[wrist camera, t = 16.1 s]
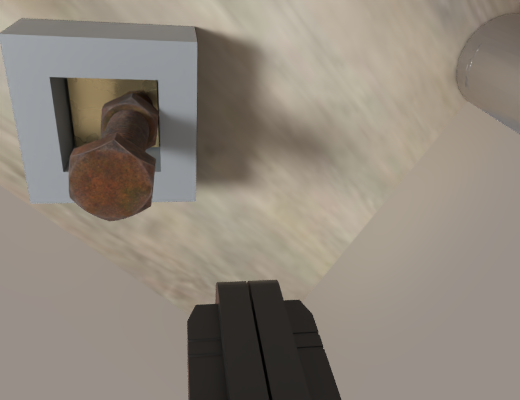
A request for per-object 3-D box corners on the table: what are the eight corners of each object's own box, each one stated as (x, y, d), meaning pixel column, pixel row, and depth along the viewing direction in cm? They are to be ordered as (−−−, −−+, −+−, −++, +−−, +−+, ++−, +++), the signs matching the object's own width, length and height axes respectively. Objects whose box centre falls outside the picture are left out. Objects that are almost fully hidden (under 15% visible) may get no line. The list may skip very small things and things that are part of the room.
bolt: (179, 104, 43) (173, 181, 30) (147, 145, 45) (128, 235, 32) (123, 63, 41) (91, 127, 28) (91, 108, 42) (46, 188, 29)
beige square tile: (156, 63, 43) (156, 68, 41) (159, 140, 46) (158, 147, 45) (68, 60, 41) (65, 65, 40) (78, 140, 45) (75, 146, 44)
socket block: (194, 26, 42) (197, 42, 36) (193, 171, 49) (195, 201, 43) (21, 18, 39) (-2, 33, 34) (46, 171, 46) (30, 203, 41)
